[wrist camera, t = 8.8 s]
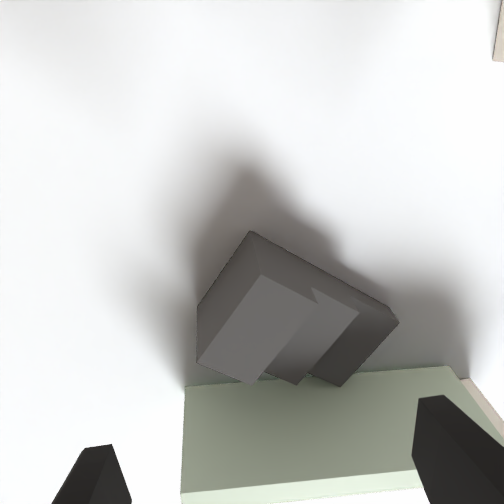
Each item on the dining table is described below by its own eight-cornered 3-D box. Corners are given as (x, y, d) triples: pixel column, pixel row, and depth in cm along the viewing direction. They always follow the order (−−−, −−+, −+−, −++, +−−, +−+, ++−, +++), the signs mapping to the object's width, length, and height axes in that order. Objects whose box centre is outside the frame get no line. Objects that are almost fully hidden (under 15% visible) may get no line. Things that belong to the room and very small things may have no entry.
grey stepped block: (197, 303, 20) (196, 362, 16) (249, 227, 18) (260, 274, 15) (331, 366, 22) (356, 429, 19) (386, 304, 21) (425, 359, 17)
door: (449, 365, 22) (518, 459, 17) (441, 392, 23) (506, 488, 18) (185, 386, 21) (180, 493, 16) (187, 414, 22) (184, 523, 17)
